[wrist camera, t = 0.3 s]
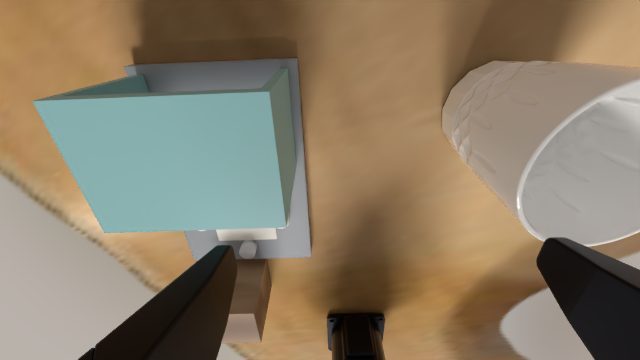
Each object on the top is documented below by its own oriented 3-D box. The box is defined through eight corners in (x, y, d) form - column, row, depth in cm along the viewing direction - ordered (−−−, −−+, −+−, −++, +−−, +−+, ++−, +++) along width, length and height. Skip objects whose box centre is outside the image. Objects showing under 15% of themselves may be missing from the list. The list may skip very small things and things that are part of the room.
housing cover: (296, 166, 21) (286, 227, 14) (169, 171, 21) (104, 233, 15) (287, 68, 17) (269, 91, 11) (135, 74, 18) (32, 101, 11)
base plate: (311, 249, 26) (310, 265, 25) (198, 252, 27) (190, 268, 25) (297, 57, 18) (295, 61, 16) (133, 64, 18) (113, 68, 16)
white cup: (410, 133, 21) (477, 211, 12) (484, 26, 17) (653, 25, 8) (490, 174, 22) (599, 267, 14) (571, 83, 19) (787, 132, 10)
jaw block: (271, 285, 29) (260, 342, 24) (234, 286, 29) (215, 343, 24) (266, 258, 27) (253, 313, 22) (226, 259, 27) (204, 314, 22)
